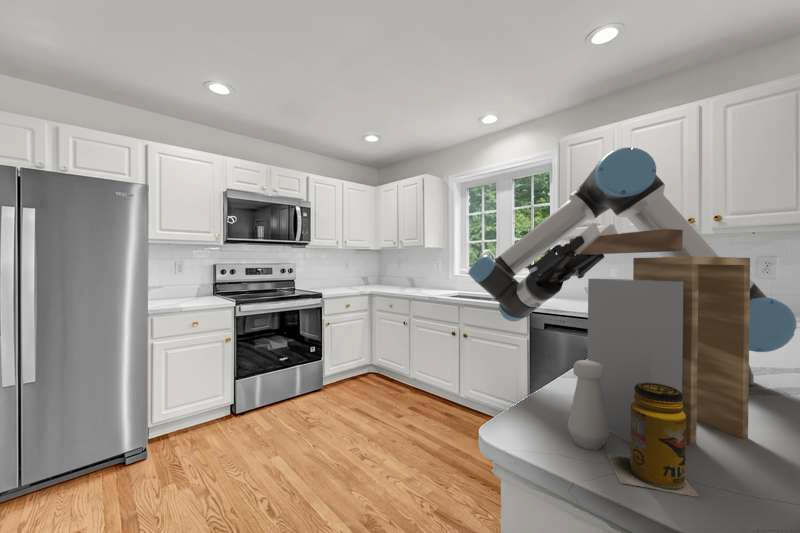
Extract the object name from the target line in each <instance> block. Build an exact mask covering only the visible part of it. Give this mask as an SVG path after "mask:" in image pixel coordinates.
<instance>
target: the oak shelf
mask: <svg viewBox="0 0 800 533" xmlns="http://www.w3.org/2000/svg"><path fill="white" fill-rule="evenodd" d="M632 264H633V269H632V273H633V274H632V275H633V277H632V280H655V281H678V282H683V352H682V396H683V398H682V404H683V408H682V411H683V412H684V413H685V415H686V444H688V445H689V446H692V445H697V430H698V428H697V422H698V421H699V422H701V423H703V424H705V425H708V426H711V427H713V428H716V429H718V430H720V431H723V432H725V433H728V434H730V435H733V436H734V437H737V438H740V439H742V440H743V439H749V398H750V397H749V396H750V394H749V393H750V392H749V390H750V388H749V387H750V386H749V365H750V351H749V315H750V280H751V258H750V257H736V256H735V257H733V256H732V257H730V256H729V257H727V256H719V257H695V256H690V257H661V256H659V257H658V256H656V257H655V256H653V257H633V263H632Z"/></svg>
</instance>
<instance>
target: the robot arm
mask: <svg viewBox="0 0 800 533" xmlns="http://www.w3.org/2000/svg"><path fill="white" fill-rule="evenodd" d="M665 187H666V184H665V183H664V181H663V180H662V179H661V178H660V177H659V176H658V174H657V164H656V162H655V160H654V158H653V156H651V155H650V154H649V153H648V152H647V151H645V150H644V149H642V148H638V147H621V148H618V149H614V150H612V151H611V152H608V154H606V155H605V156H603V157H602V159H600V160H599V161H598V162H597V164H596V165H595V167H594V168H593V170H592V171H591V172H590V173H589V175H588V176H587V177H586V178H585V179H584V181H583V182H582V184H580V186H578V187H577V189H575V190H574V191H573V192H572V193H570V194H569V197H568V200H567V201H566V202H564V203H563V204H562V205H561V206H560V207H559V208H557V209H556V210H555V211H554V212H552V213H551V214H550V215H548V217H546V218H545V219H544V220H542V221H541V222H540V223H539V224H537V225H536V226H535V227H534V228H532V229H531V230H530V231H528V232H527V233H526V234H525V235H524V236H522V237H521V238H520V239H519V240H517V241H516V242H515V243H514V244H512V245H511V246H510V247H509V248H507V249H506V250H505V251H504V252H502V253H501V254H500V255H499V256H498V257H496V258H495V259H493V258H491V256H489V255H488V254H483V255H482V256H480V258H479V259H477V260H476V261H475V262H474V263H473V265H472V266H471V267H470V268H469V270H468V275H469V276H470V277H471V278H472V279H473V281H474V282H475V283H477V284H478V285H479V286H480V287H481V288H483V290H485V292H487V293H488V294H489V295H490V296H491V297H493V298H494V299H495V300H496V302H498V303H499V304H498V311H499V312H500V315H501V317H503V318H504V319H505V320H506V321H509V322H514V323H515V322H519V321H521V320H522V319H524V318H527V317H528V316H530V314H532V313H533V312H534V311H536V310H537V309H538V308H540V307H541V306H542V305H543V304H544V303H545V302H547V301H548V300H550V299H551V298H553V297H554V296H555V295H557V294H558V293H559V292H560V291H561V290H562V287H563V284H564V282H566V281H568V280H570V279H571V277H577V278H578V279H583V278H584V277H585V274H586V273H588V272H589V271H590V270H591V269H592V268H594V267H595V266H596V265H597V264H598V263H600V261H602V260H603V259H604V258H605V254H590V255H575V254H574V251H575V253H576V254H580V253H581V252H582V251H583V250H584V249H586V248H587V247H588V246H589V245H590V244H592V243H593V242H594V241H595V240H596V239H597V238H599V237H600V236H602V235H612V234H619V233H618V231H617V228H616V226H615V224H613V223H612V224H608V226H606V227H605V228H604V229H603V230H602V231H601V232H600V230H599V227H598V226H597V223H591V224H590V225H589V226H588V227H587V228H586V229H585V230H584V231H582V232H581V233H580V234H579V235H577V236H576V237H575V239H573V238H572V239H573V241H571V242H570V241H569V243H567V242H566V243H565V244H564V245H561V244H558V243H560V242H561V241H562V240H563V239H565V238H566V237H567V236H569V234H571V233H573V231H575V230H576V229H577V228H578V227H580V226H581V225H583V224H584V223H585V222H587V221H589V220H590V221H594V220H595V219H597V218H598V217H599V216H601V215H602V214H604V213H605V212H607V211H609V210H611V211H612V213H614V214H615V216H617V217H621V218H625V219H626V218H627V219H628V220H629V221H630V222H631V223H632V225H633V226H634V227H635V228H636V229H637V230H638V232H641V231H650V230H660V229H676V230H683V239H682V251H669V252H657V254H658V255H659V257H690V256H695V257H720V256H719V255H718V254H717V253H716V252H715V250H714V249H713V248H712V247H711V246H710V245H709V244H708V242H706V240H705V239H704V238H703V237H702V236H701V234H699V233H698V232H697V230H696V228H694V227H693V226H692V225H691V224H690V223H689V221H687V219H686V218H685V217H684V216H683V215H682V213H681V212H680V211H679V210H678V209H677V208H676V207H675V205H673V203H671V201H670V200H669V199H668V198H667V197H666V195H665V194H664V191H665V189H666V188H665ZM548 250H549V251H548ZM546 252H547V253H546ZM541 256H542V257H541ZM539 257H540V258H539ZM537 259H538V260H537ZM536 260H537V261H536ZM535 261H536V262H535ZM532 263H533V264H532ZM525 268H527V269H528V271H529V274H528V275H525V277H524V278H522V280H521V281H518V280H517V279H516V278H515V276H517V275H518V274H519V273H520V272H522V271H524V269H525ZM796 329H797V318H796V316H795V314H794V312H793V311H792V309H791V308H790V307H789V306H788V305H786V304H785V303H784V302H782V301H779V300H778V299H776V298H772V297H767V295H766V294H765V293H764V292H763V291H762V290H761V289H760V288H759V287H758V286H757V285H756V283H755V282H754V281H753V280H751V279H750V315H749V352H755V353H768V352H769V353H770V352H775V351H777V350H779V349H781V348H782V347H785V346H786V345H787V344H788V343H789V342H791V340H792V339H793V338H794V336H795V331H796ZM754 377H755V376H754V373H753V372H752V369H751V366H750V364H749V387H752V386H754V385H755V382H754V381H755V380H754Z"/></svg>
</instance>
